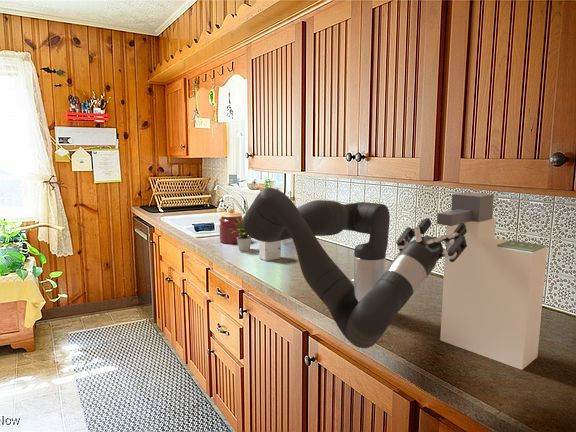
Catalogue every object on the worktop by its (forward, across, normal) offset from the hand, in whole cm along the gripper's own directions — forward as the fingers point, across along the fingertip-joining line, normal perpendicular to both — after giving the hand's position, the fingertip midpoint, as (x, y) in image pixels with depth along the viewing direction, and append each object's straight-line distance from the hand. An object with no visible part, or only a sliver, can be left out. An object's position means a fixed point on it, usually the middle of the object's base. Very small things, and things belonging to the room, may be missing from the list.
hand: (445, 223), depth 99 cm
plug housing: (+6, 0, +4) cm, 7 cm away
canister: (+13, +139, +45) cm, 147 cm away
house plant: (+7, +120, +42) cm, 127 cm away
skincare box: (+7, +98, +42) cm, 107 cm away
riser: (-6, -6, +34) cm, 35 cm away
